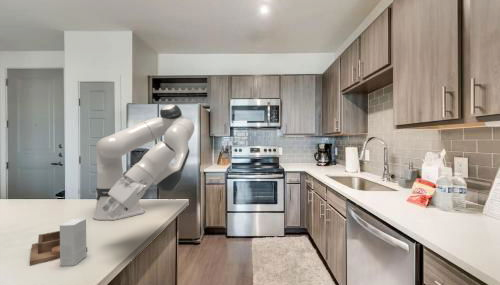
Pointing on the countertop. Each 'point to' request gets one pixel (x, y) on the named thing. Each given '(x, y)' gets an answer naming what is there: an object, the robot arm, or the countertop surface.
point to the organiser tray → (46, 248)
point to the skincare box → (72, 242)
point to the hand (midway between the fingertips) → (106, 213)
